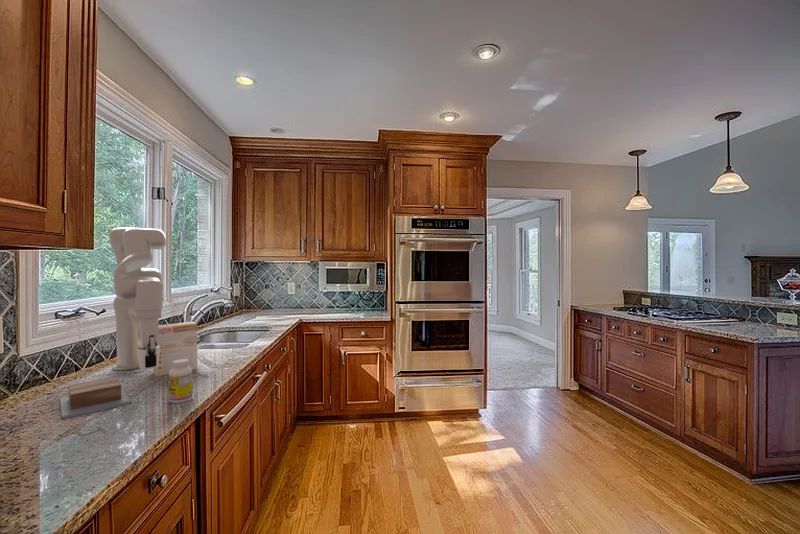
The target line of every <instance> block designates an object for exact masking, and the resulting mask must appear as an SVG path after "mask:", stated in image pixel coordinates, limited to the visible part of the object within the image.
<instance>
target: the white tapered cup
mask: <svg viewBox="0 0 800 534" xmlns="http://www.w3.org/2000/svg"><path fill="white" fill-rule="evenodd" d="M148 347H150V346H148ZM148 351H149V349H148ZM137 353H138V361H139V368H138V369H141V370H150V369H153V368H155V367H157V366H158V365H159V356H160V346H159V345H158V346H157V347H156V366H154V367H149V368H146V367H145V356H146V347H144V349H142V348H141V347H139V348H137Z"/></svg>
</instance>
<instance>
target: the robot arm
mask: <svg viewBox="0 0 800 534" xmlns="http://www.w3.org/2000/svg"><path fill="white" fill-rule="evenodd" d="M108 237H109V242H110V247H111V248H112V250H113V252H114V256H115V259H116V267H115V269H114V272H113V274H112V275H113V278H112V279H113V280H112V281H113V287H114V288H113V289H114V292H115V295H116V297H115V298H114V299H113V304H112V306H113V310H114V314H115V315H114V316H115V323H116V324H115V326H116V327H115V328H116V364H113V365H112V367H111V369H112V370H114V371H127V370H135V369H140V368H139V361H138V353H137V348H139V347H141V348H142V349H144V347H146V356H145V367H146V368H149V367H154V366H156V347H157V346H158V342H159V329H158V325H159V320H160V319H162V310H163V306H164V305H163V304H164V300H163V292H164V291H163V290H164V286H163V276H162V273H161V271H160V270H159V269H156V268H154V267H153V268H151V267H150V268H148V267H147V266H149V265H150V264H151V263H152V261H153V254H152V250H163V249H164V248H165V247H166V245H167V238H166V235H165V233H164V231H163V230H162V229H159V228H158V229H157V228H143V227H142V228H141V227H116V228H113V229H111V230H110V231H109V236H108ZM145 267H147V268H145ZM148 346H150V347H148ZM148 349H149V351H148Z"/></svg>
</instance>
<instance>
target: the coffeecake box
mask: <svg viewBox="0 0 800 534" xmlns="http://www.w3.org/2000/svg"><path fill="white" fill-rule="evenodd" d="M158 329H159V342H158V345H159V346H160V356H159V365H158V366H157V367H155V368H152V372H153V375H154V376H155V377H161V376H167V375H169V371H170V370H171V369H173V366H172V361H175V360H179V359H188V360H189V364H188V367H191V368H192V371H195V370H198V369H199V368H198V363H199V362H198V323H197V322H195V321H187V322H186V321H185V322H177V323H167V324H160V325H159V324H158Z"/></svg>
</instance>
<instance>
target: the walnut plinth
mask: <svg viewBox="0 0 800 534" xmlns="http://www.w3.org/2000/svg"><path fill="white" fill-rule="evenodd" d="M121 386H122V384H121V382H120V380H118V378H117V376H113V377H108V378H102V379H97V380H91V381H86V382H79V383H74V384H73V383H72V384H68V396H69V403H70V409H71V410H74V409H79V408H83V407H88V406H93V405H97V404H102V403H107V402H111V401H116V400H121Z"/></svg>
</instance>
